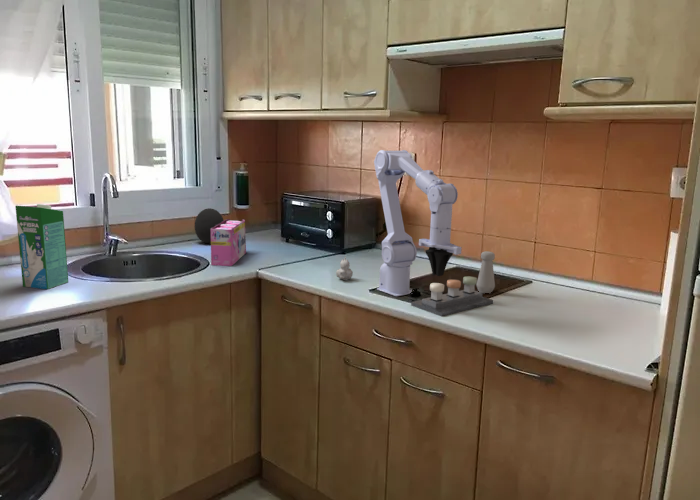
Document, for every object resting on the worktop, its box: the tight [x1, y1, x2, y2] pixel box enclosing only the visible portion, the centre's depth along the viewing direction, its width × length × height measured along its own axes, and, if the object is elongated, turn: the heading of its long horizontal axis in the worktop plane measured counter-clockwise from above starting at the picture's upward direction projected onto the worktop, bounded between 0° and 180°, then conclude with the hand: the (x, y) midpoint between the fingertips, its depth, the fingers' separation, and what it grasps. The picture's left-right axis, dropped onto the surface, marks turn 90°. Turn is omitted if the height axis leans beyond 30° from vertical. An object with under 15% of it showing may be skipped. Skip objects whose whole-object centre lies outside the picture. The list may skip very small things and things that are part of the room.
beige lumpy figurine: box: [336, 256, 354, 281], centre depth 195 cm, size 5×7×8 cm
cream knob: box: [429, 282, 445, 300], centre depth 167 cm, size 4×4×4 cm
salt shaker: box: [475, 250, 496, 294], centre depth 185 cm, size 6×6×13 cm
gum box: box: [210, 218, 247, 267], centre depth 221 cm, size 24×8×14 cm, turn 177°
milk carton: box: [15, 203, 69, 290], centre depth 179 cm, size 9×9×25 cm
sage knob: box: [462, 275, 478, 293], centre depth 175 cm, size 4×4×4 cm
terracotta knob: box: [446, 279, 462, 297], centre depth 171 cm, size 4×4×4 cm
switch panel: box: [410, 289, 494, 317], centre depth 171 cm, size 12×22×3 cm, turn 128°
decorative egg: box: [194, 208, 225, 245], centre depth 248 cm, size 12×12×15 cm
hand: (437, 274), depth 165 cm, fingers closed
